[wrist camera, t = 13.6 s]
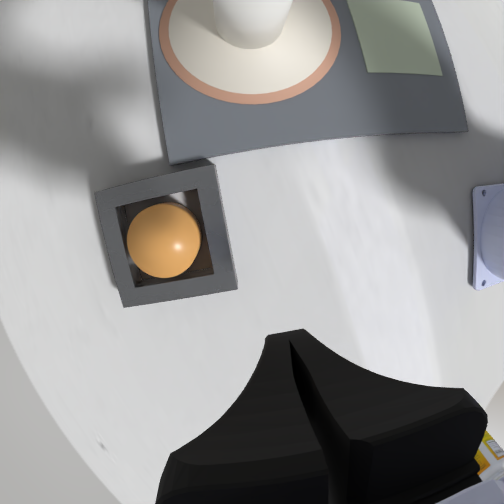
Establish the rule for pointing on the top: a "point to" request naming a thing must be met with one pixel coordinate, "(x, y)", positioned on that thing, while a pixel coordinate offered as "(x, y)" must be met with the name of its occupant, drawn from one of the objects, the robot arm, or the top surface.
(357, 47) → the picture board
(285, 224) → the top surface
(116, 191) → the button housing
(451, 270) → the top surface
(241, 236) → the top surface
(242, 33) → the white and brown cylinder
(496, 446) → the supplement bottle
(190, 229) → the button
